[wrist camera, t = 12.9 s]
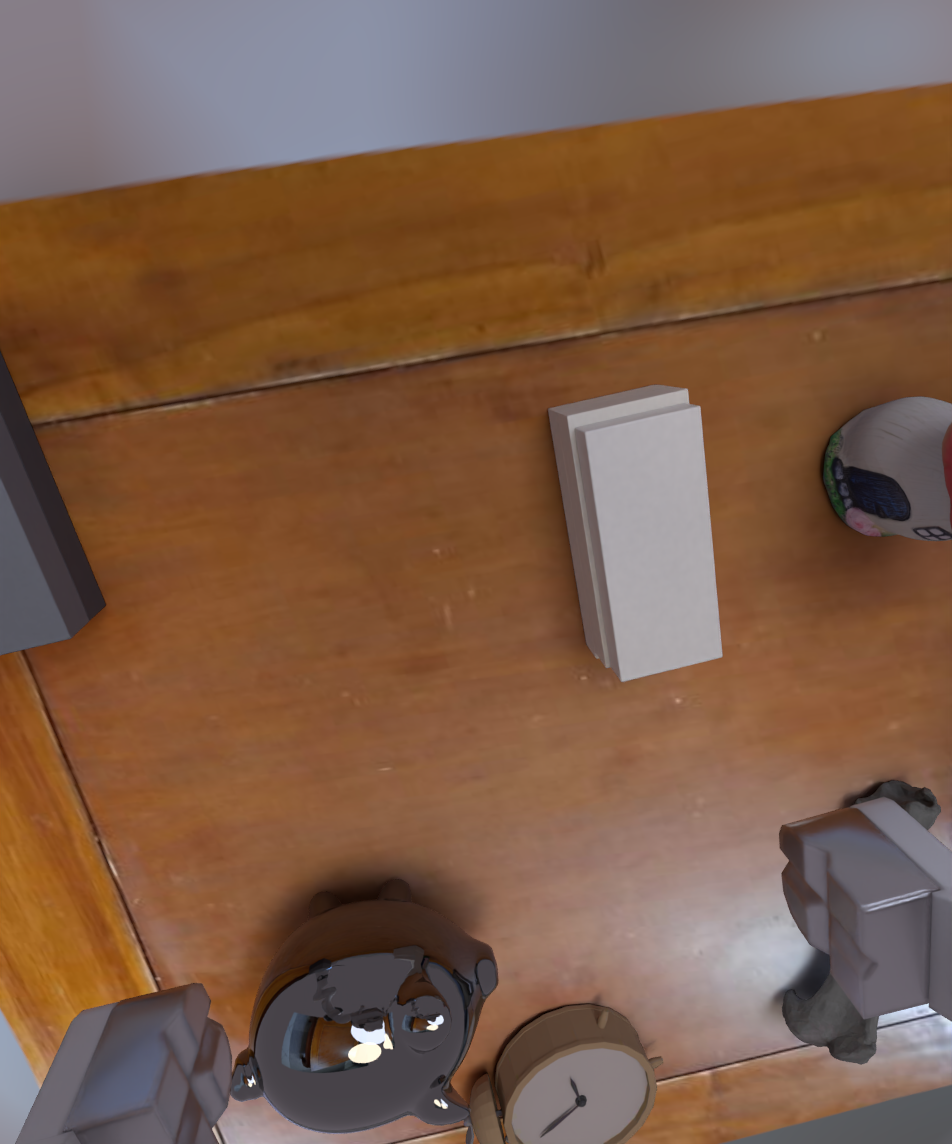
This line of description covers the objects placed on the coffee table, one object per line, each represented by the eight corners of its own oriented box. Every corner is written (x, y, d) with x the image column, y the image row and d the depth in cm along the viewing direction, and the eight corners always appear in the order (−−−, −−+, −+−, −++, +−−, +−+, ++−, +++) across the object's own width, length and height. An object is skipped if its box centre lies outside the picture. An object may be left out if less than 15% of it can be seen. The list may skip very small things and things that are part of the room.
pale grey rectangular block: (573, 427, 33) (584, 431, 31) (684, 402, 33) (701, 405, 31) (610, 667, 37) (621, 683, 35) (707, 643, 37) (723, 657, 36)
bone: (839, 1010, 54) (895, 1089, 48) (763, 1015, 53) (811, 1096, 47) (923, 767, 47) (998, 825, 41) (837, 766, 46) (903, 826, 40)
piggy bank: (495, 961, 48) (529, 1142, 37) (277, 1009, 46) (246, 1212, 36) (472, 829, 44) (502, 988, 33) (235, 879, 43) (186, 1060, 32)
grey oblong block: (547, 408, 36) (566, 415, 32) (656, 383, 36) (688, 388, 33) (586, 644, 41) (607, 675, 37) (682, 621, 41) (712, 648, 37)
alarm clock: (688, 1089, 50) (538, 1243, 49) (654, 1033, 54) (516, 1173, 53) (600, 1011, 46) (436, 1176, 45) (571, 958, 51) (421, 1106, 50)
